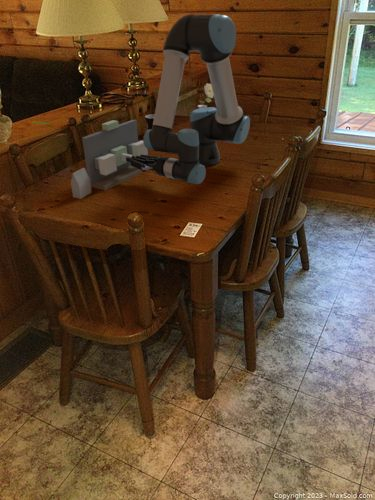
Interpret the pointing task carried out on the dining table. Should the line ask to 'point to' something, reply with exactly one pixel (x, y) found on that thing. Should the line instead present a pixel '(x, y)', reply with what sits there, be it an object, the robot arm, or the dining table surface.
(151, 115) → the coffee mug
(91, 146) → the grey upright panel
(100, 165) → the key
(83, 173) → the grey upright block
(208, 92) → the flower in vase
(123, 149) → the key middle
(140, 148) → the key
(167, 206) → the dining table surface
